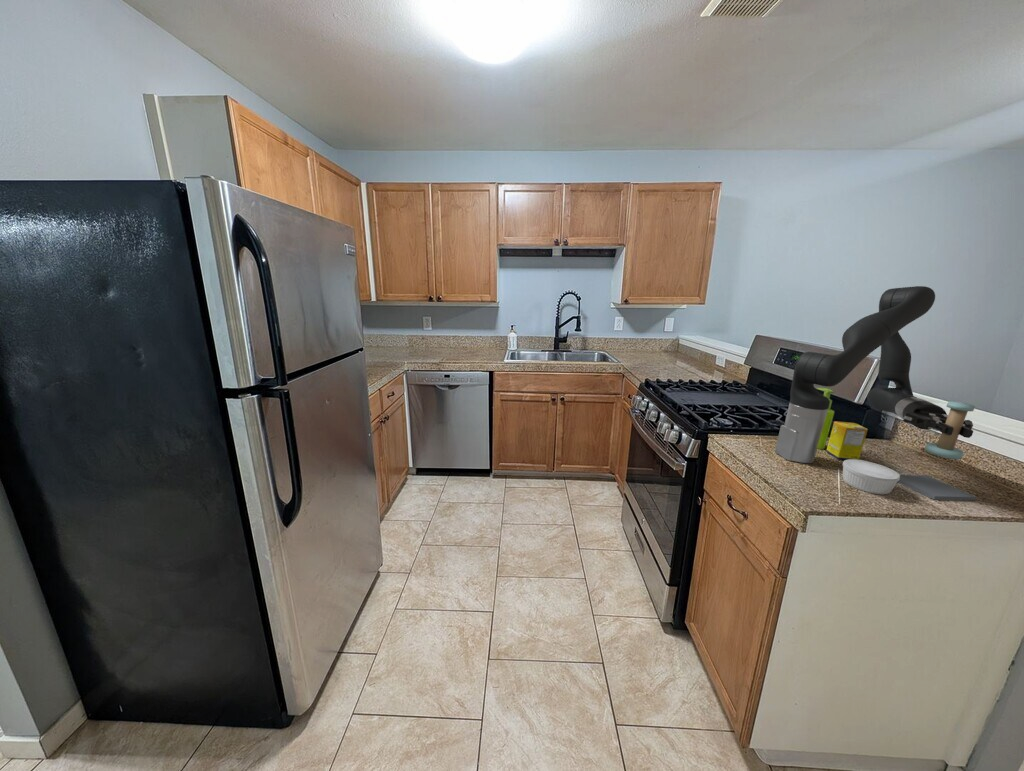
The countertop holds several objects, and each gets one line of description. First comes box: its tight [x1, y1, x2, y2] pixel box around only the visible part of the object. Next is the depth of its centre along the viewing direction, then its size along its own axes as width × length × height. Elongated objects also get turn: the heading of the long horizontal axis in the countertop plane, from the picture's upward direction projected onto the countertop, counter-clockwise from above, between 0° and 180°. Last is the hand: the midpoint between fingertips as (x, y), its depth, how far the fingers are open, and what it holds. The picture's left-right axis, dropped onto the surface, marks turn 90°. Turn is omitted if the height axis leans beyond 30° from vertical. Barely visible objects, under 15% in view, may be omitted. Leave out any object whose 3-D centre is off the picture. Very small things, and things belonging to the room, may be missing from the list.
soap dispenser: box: [816, 387, 835, 450], centre depth 122 cm, size 6×7×20 cm
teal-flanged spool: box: [924, 400, 976, 460], centre depth 93 cm, size 6×6×14 cm
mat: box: [897, 474, 977, 501], centre depth 97 cm, size 11×11×1 cm
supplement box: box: [825, 420, 868, 461], centre depth 114 cm, size 6×6×11 cm
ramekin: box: [842, 459, 901, 495], centre depth 97 cm, size 11×11×5 cm
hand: (959, 432), depth 90 cm, fingers closed on teal-flanged spool, 3 cm apart
